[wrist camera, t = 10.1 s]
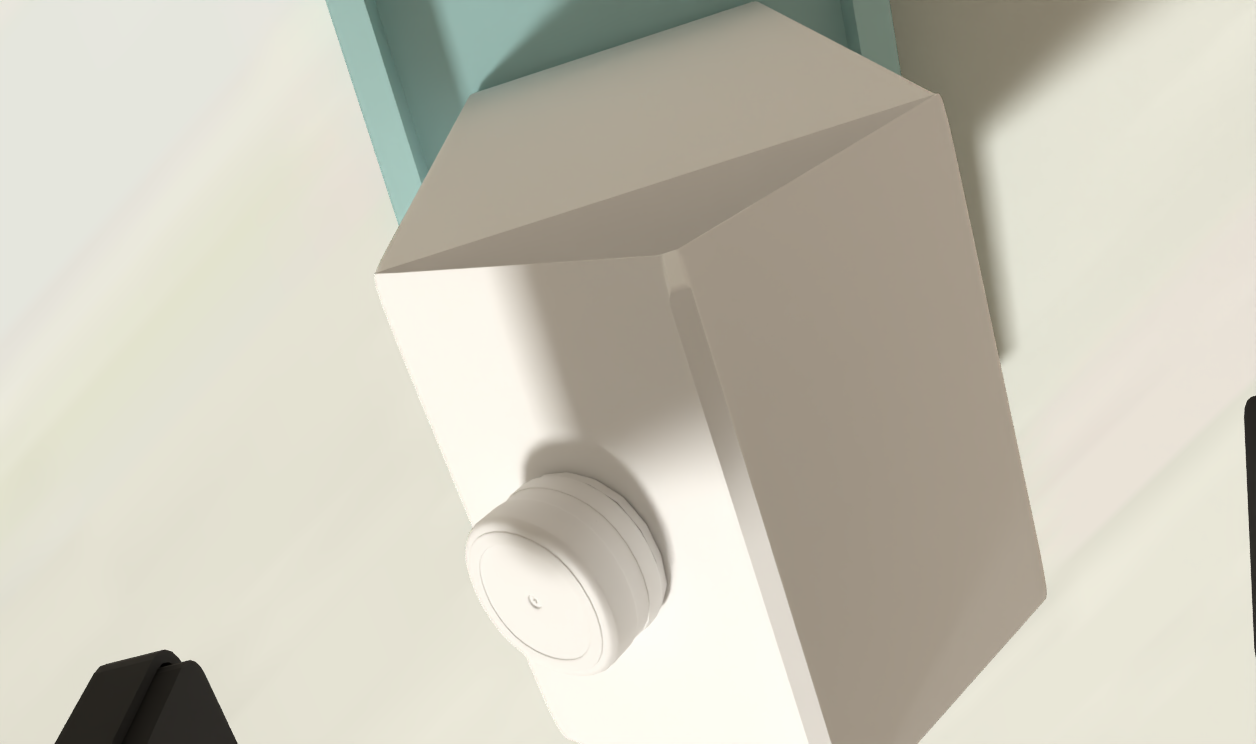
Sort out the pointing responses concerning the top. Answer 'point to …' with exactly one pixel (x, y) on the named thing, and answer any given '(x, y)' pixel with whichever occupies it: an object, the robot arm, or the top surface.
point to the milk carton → (720, 389)
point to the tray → (521, 55)
